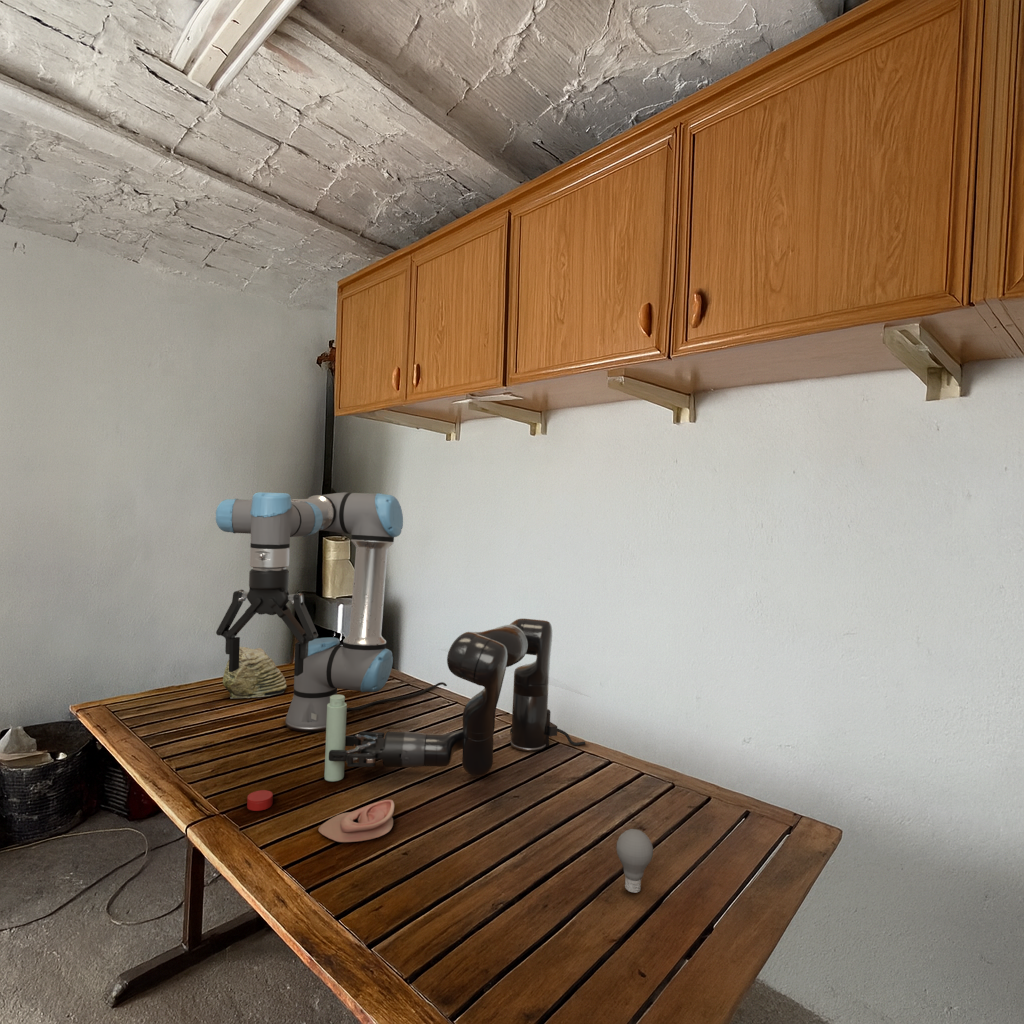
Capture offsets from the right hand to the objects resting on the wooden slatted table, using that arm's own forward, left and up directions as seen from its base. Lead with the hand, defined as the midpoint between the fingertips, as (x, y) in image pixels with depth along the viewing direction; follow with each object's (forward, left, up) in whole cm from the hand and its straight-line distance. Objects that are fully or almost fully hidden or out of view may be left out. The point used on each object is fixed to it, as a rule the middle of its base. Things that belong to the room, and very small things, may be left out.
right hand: (333, 747), depth 143 cm
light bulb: (-36, +62, -7) cm, 72 cm away
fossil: (+9, -67, -7) cm, 68 cm away
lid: (+16, +8, -5) cm, 19 cm away
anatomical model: (+1, +24, -7) cm, 25 cm away
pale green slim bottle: (0, 0, -7) cm, 7 cm away
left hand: (+16, +7, +21) cm, 27 cm away
